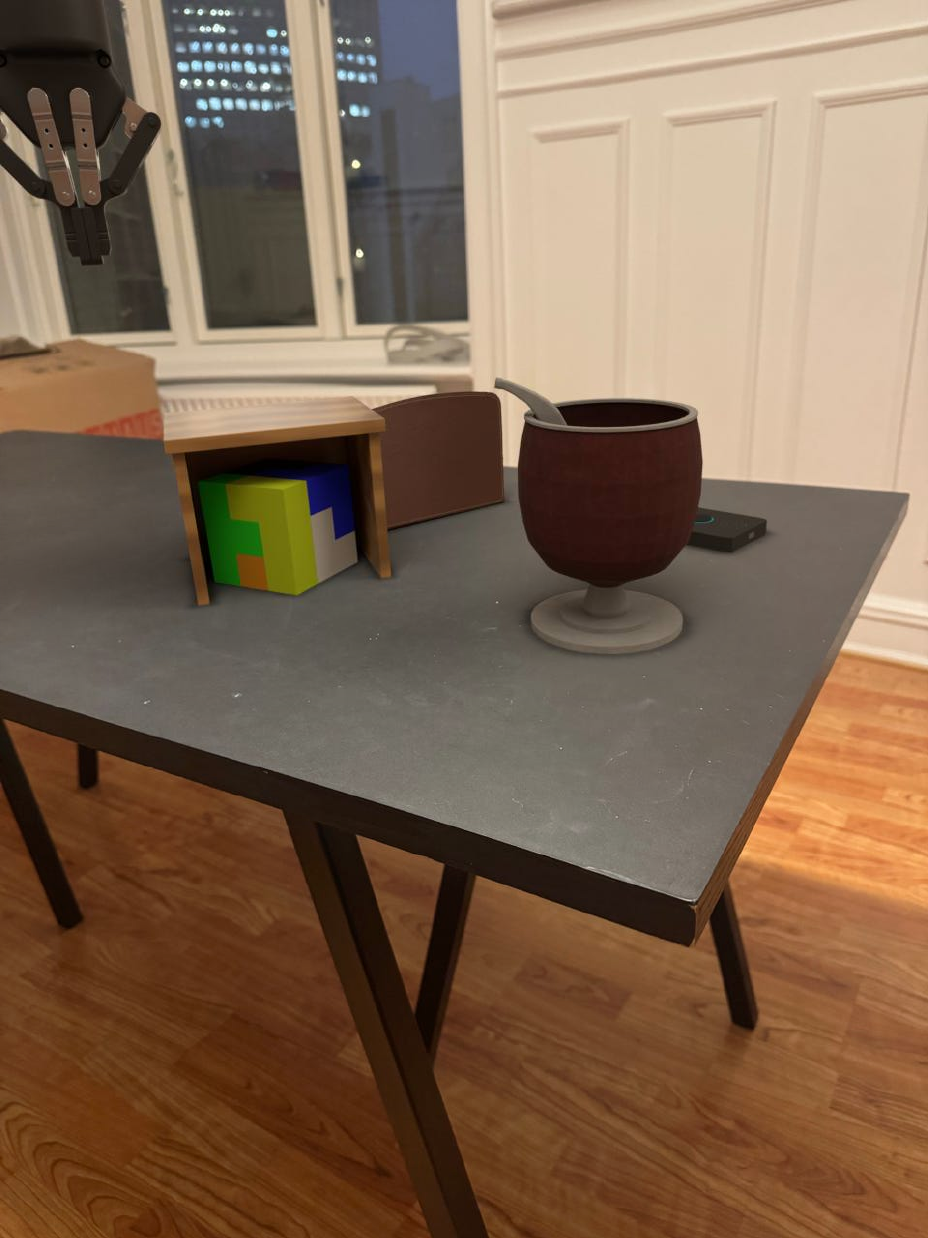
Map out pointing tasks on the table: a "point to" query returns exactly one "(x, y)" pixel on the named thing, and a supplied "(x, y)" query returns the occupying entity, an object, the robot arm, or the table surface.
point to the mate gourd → (607, 512)
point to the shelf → (280, 433)
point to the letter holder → (441, 456)
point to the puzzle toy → (279, 524)
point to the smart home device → (725, 530)
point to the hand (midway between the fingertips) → (92, 264)
